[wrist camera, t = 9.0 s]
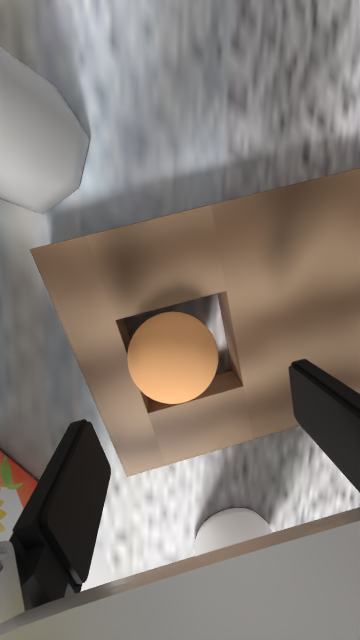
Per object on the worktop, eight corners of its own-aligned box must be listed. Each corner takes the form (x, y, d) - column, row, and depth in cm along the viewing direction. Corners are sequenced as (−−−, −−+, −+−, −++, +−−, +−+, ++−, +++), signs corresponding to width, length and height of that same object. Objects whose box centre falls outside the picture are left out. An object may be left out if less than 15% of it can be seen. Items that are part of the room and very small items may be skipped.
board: (429, 363, 21) (464, 377, 19) (130, 450, 20) (126, 476, 17) (452, 151, 16) (505, 132, 13) (50, 251, 15) (29, 249, 12)
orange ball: (200, 353, 19) (251, 375, 14) (145, 398, 17) (179, 445, 12) (168, 294, 17) (212, 294, 12) (102, 338, 15) (119, 361, 10)
